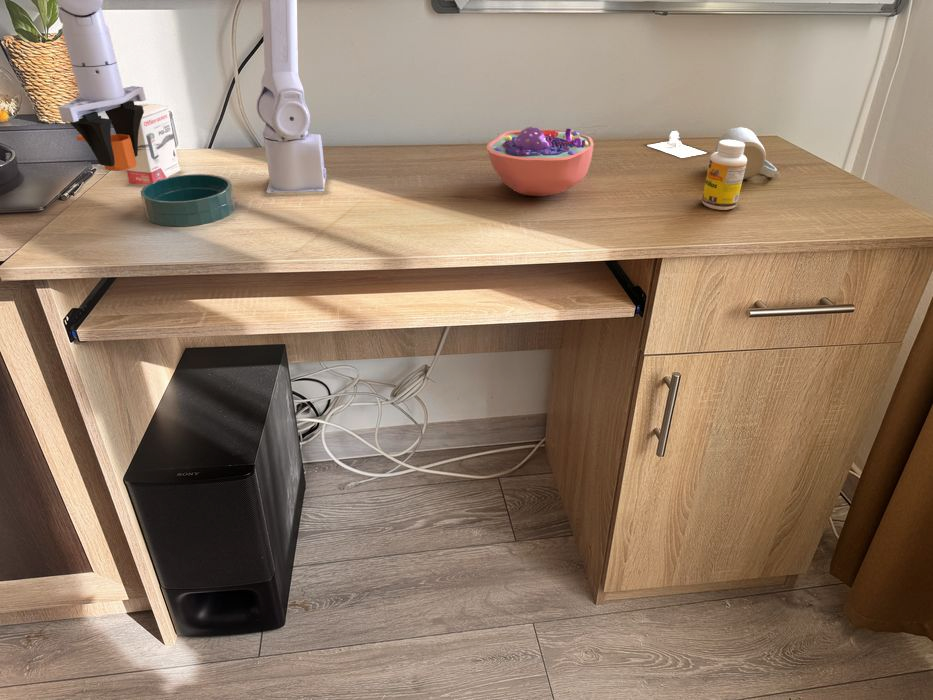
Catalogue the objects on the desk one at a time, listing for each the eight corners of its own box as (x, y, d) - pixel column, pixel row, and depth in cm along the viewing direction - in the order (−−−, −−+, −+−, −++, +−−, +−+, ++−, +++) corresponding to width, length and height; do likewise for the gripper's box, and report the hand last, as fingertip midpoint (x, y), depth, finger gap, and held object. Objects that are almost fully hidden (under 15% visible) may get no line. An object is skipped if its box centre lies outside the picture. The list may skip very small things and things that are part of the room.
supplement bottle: (695, 199, 114) (708, 138, 109) (728, 199, 115) (741, 137, 109) (708, 211, 110) (721, 148, 104) (741, 211, 110) (756, 147, 105)
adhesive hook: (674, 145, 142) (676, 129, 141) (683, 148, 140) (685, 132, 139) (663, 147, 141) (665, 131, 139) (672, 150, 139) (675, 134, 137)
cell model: (612, 188, 119) (621, 122, 113) (542, 218, 106) (547, 145, 100) (536, 167, 128) (540, 105, 122) (463, 192, 116) (464, 124, 110)
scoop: (143, 163, 104) (136, 135, 102) (123, 172, 100) (115, 143, 98) (97, 158, 106) (90, 130, 104) (76, 166, 102) (68, 138, 100)
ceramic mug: (721, 180, 123) (731, 137, 119) (710, 166, 130) (719, 125, 125) (781, 183, 122) (793, 140, 118) (766, 169, 129) (778, 128, 125)
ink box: (155, 187, 116) (138, 116, 110) (128, 185, 117) (110, 114, 110) (183, 172, 123) (168, 104, 117) (157, 170, 124) (142, 102, 118)
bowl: (241, 197, 112) (236, 173, 110) (228, 227, 101) (223, 200, 99) (158, 200, 111) (152, 175, 109) (137, 231, 100) (130, 204, 98)
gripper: (108, 53, 102) (130, 144, 109) (28, 70, 90) (60, 171, 97) (147, 56, 100) (168, 149, 107) (72, 74, 88) (101, 176, 95)
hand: (119, 160), depth 102 cm, fingers closed on scoop, 4 cm apart
